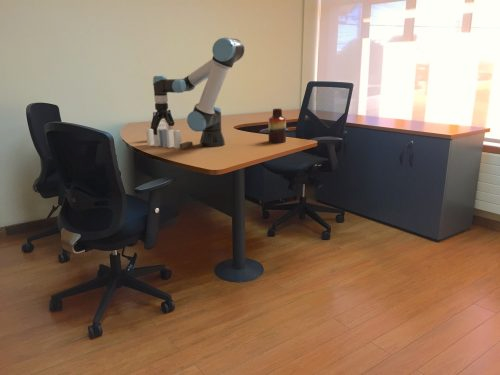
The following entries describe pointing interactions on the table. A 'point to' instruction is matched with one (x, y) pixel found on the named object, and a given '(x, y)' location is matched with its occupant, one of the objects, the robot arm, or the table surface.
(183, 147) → the block
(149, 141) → the domino
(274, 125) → the brown bottle
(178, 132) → the domino
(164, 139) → the domino
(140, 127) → the table surface
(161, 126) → the ink box
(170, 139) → the domino
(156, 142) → the domino
